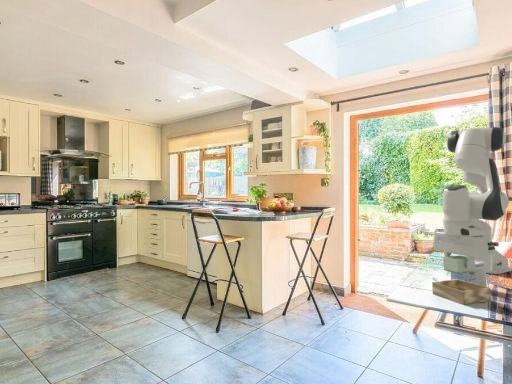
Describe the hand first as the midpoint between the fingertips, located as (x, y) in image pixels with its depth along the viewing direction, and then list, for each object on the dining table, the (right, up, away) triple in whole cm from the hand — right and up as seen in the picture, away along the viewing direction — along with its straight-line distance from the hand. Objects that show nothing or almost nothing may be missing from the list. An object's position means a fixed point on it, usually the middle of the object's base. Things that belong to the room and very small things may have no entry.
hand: (459, 266), depth 116 cm
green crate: (0, -2, 0) cm, 2 cm away
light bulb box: (+12, -12, +12) cm, 20 cm away
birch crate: (0, -11, 0) cm, 11 cm away
